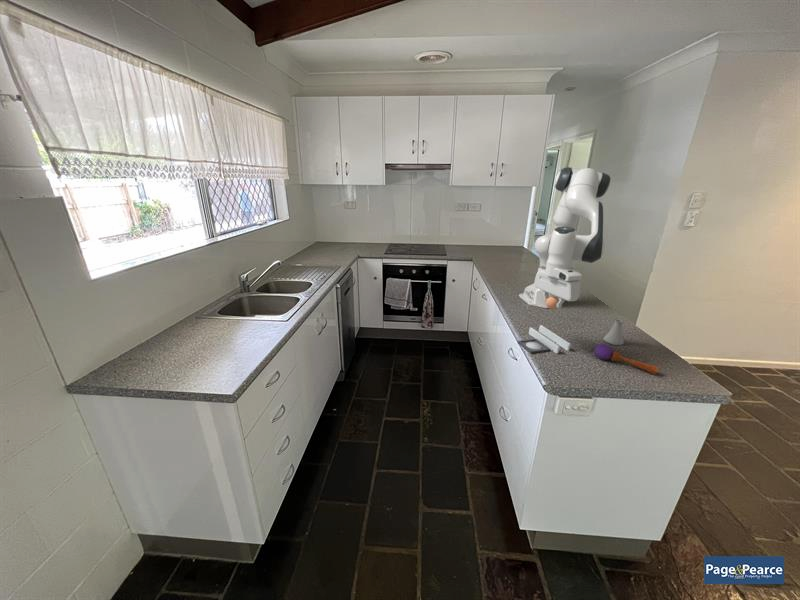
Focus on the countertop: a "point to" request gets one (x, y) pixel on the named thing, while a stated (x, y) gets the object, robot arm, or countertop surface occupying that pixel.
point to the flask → (615, 333)
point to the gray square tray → (533, 345)
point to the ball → (552, 302)
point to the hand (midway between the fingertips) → (552, 304)
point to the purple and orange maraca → (622, 358)
